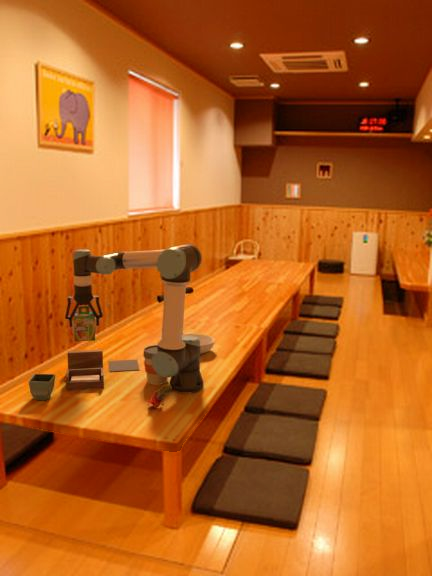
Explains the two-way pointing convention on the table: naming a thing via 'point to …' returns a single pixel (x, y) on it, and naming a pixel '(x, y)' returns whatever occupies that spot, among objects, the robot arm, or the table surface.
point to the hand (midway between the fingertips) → (84, 332)
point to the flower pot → (42, 386)
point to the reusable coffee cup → (151, 373)
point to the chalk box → (84, 325)
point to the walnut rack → (85, 369)
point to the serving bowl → (203, 342)
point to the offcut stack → (85, 378)
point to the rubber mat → (123, 365)
